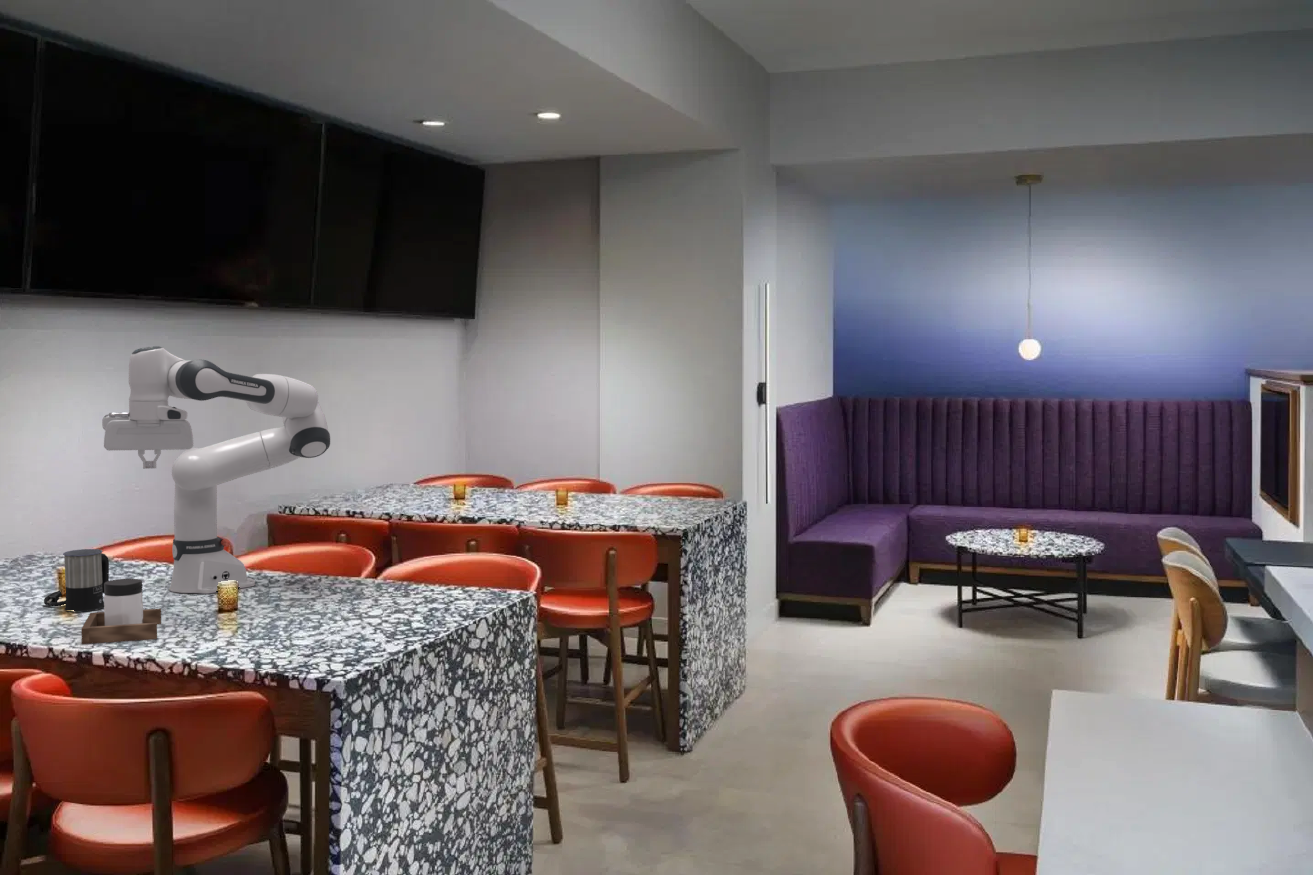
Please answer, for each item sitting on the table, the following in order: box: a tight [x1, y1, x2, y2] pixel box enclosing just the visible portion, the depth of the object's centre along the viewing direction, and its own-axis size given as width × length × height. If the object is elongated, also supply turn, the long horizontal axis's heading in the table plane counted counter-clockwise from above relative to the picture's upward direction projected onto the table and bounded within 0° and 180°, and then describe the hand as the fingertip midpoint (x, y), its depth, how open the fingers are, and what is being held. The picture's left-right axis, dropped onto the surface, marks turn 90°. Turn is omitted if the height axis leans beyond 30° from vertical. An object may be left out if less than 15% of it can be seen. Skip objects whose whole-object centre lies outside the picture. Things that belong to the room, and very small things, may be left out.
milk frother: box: [43, 548, 110, 612], centre depth 294 cm, size 14×16×15 cm
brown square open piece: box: [80, 608, 162, 645], centre depth 268 cm, size 16×17×4 cm
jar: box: [103, 578, 144, 626], centre depth 268 cm, size 9×8×12 cm
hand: (149, 468), depth 283 cm, fingers closed
